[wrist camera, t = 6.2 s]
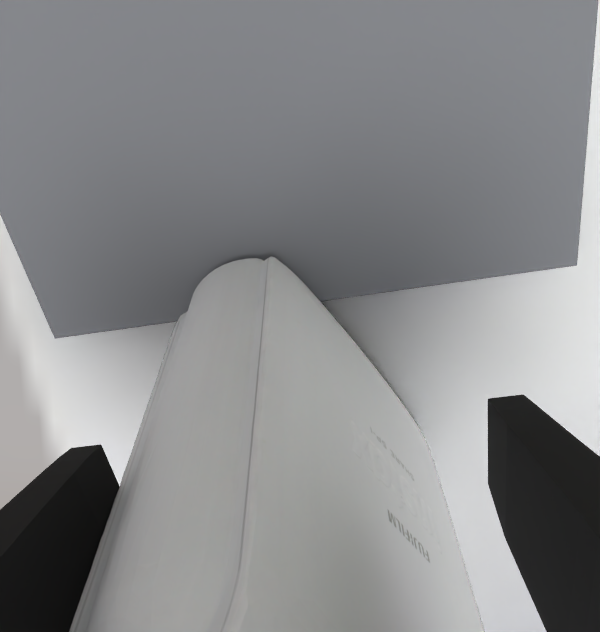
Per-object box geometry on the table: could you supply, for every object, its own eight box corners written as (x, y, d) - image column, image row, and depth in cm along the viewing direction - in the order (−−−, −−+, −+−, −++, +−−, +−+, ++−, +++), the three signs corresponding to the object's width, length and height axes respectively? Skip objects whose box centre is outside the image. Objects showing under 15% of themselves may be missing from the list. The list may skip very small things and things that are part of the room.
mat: (567, 257, 16) (576, 265, 15) (62, 329, 17) (54, 338, 17) (609, -314, 10) (625, -333, 10) (-135, -134, 12) (-157, -143, 11)
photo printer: (444, 442, 19) (625, 1004, 8) (344, 488, 20) (393, 1025, 10) (275, 223, 15) (212, 834, 4) (160, 300, 16) (-113, 915, 5)
